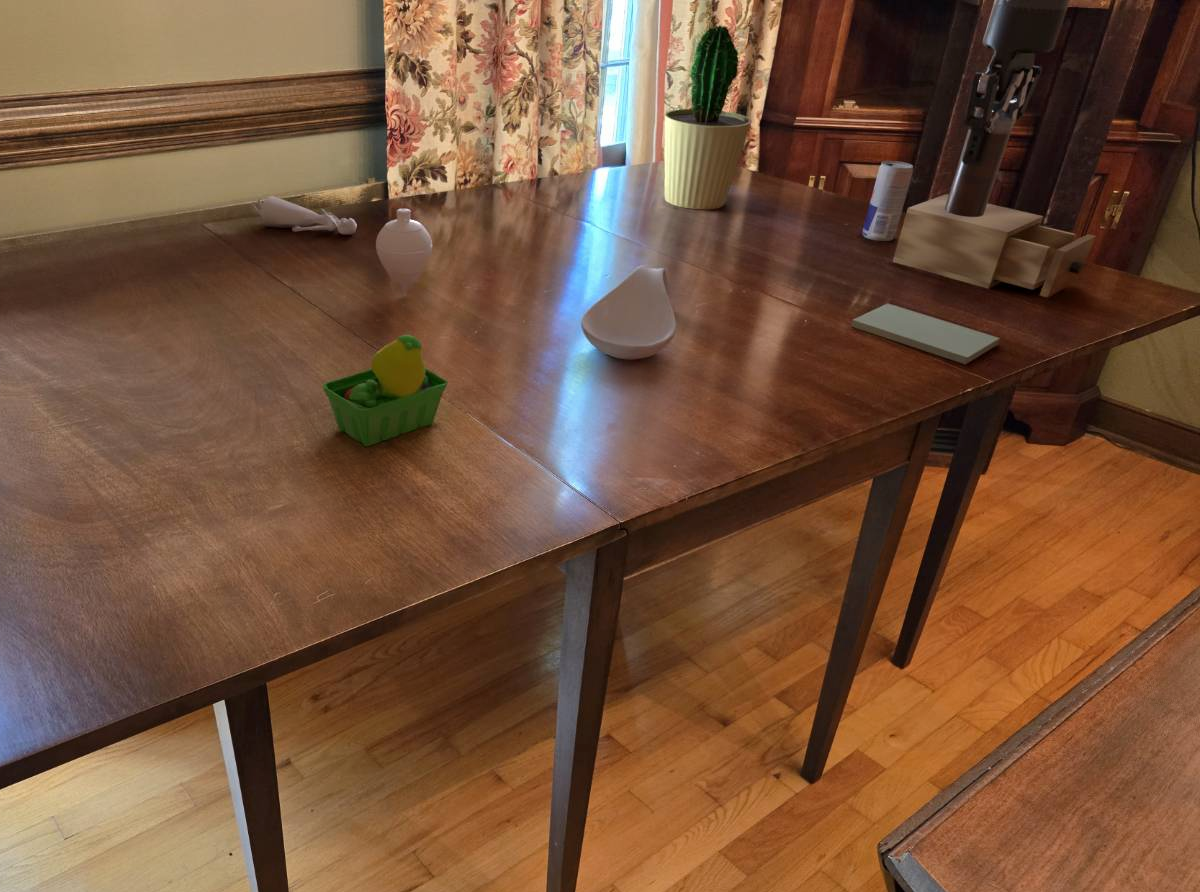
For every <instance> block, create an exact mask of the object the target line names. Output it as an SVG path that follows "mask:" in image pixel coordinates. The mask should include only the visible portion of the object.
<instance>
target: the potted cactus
mask: <svg viewBox="0 0 1200 892" xmlns="http://www.w3.org/2000/svg"><path fill="white" fill-rule="evenodd" d="M708 24H709V25H711V26H710V27H709V26H707V28H706V29H707V30H706V29H704V30H703V33H701V34H702V35H701V34H699V37H700V39H698V40H697V41H694V44H695V45H697V46H696V47H694V49H693V48H691V50H692V51H693V54H694V55H693V58H692V57H690V60H691V64H690V66H689V67H688V66H687V68H688V69H689V70H688V69H684V71H685V72H688V73H689V74H686V77H689V75H690V82H689V84H687V87H689V88H691V89H690V93H688V94H687V95H685V97H687V98H686V99H690V100H689V102H690V106H689V108H678V109H673V110H669V111H666V112H665V113H664V200H665V202H667V203H668V204H670V205H673V206H675V207H680V208H685V209H689V210H716V209H719V208H722V207H724V205H725V204H726V202H727V198H728V195H729V192H730V189H731V186H732V183H733V180H734V178H735V177H734V176H735V173H736V170H737V167H738V164H739V161H740V158H741V155H742V152H743V149H744V145H745V142H746V139H747V136H748V133H749V130H750V126H751V124H752V122H753V121H752V119H751V118H750V117H749V116H746V115H743V114H740V113H736V112H732V111H731V112H730V111H727V109H726V106H725V105H727V103H726V102H728V103H731V101H730V100H729V99H728V98H730V97H732V95H733V93H731V92H730V91H734V89H733V88H732V86H731V85H733V87H734V88H735V89H737V88H736V86H734V82H733V81H736V80H738V78H737V77H739V75H741V74H740V72H741V73H743V70H741V69H742V64H741V60H739V59H741V56H739V52H738V50H739V49H740V47H738V48H737V46H736V45H737V42H736V41H738V39H737V38H734V35H733V34H734V33H735V30H733V28H734V26H732V27H731V28H729V27H728V26H725V25H722V24H719V25H714V26H712V24H711V21H710V22H709V23H708ZM730 32H731V33H730ZM736 39H737V40H736ZM735 44H736V45H735ZM736 48H737V49H736ZM689 52H690V53H691V51H689ZM741 53H743V52H740V54H741ZM692 62H693V63H692ZM739 66H740V67H739ZM738 72H739V73H738ZM690 97H691V98H690ZM727 97H728V98H727Z"/></svg>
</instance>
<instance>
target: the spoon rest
mask: <svg viewBox="0 0 1200 892" xmlns="http://www.w3.org/2000/svg"><path fill="white" fill-rule="evenodd" d="M669 289H670V288H669V281H668V275H667V271H666V269H665V268H664V267H661V268H660V267H659V268H652V267H648V266H646V265H644V264H641V265H638V266H637V267H636V268H635V269H634V270H633V271H632V272H631V273H630V274H629V275H628V276H627V277H626V278H625V279H624V280H623V281H621V282H620V283H619V284H618V285H617V286H615V287H614V288H613V289H612V290H610V291H609V292H607V293H606V294H605V295H603V296H602V297H601V298H600V299H599V300H597V301H596V302H595V303H594V304H593V305H591V307H590V308H588V309H587V310H586V311H585V312H584V314H583V315H582V317H581V319H580V328H581V330H582V333H583V335H584V337H585V338H586V339H587V341H588V342H589V343H590V344H591V345H592V346H593V347H594V348H595V349H597V350H598V351H599V352H601V353H602V354H605V355H607V356H609V357H612V358H615V359H618V360H619V359H620V360H627V361H632V360H640V359H646V358H649V357H652V356H654V355H656V354H658V353H659V352H661V351H662V350H664V348H666V347H667V346H668V345H669V344H670V342H671V341H672V339H673V338H674V336H675V334H676V332H677V320H676V316H675V312H674V310H673V307H672V304H671V301H670V299H669V297H670V296H669V292H670V290H669Z"/></svg>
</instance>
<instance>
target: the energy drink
mask: <svg viewBox="0 0 1200 892" xmlns="http://www.w3.org/2000/svg"><path fill="white" fill-rule="evenodd" d="M913 167H914V165H913V164H911V163H908V162H904V161H899V160H898V161H897V160H885V161H882V162H881V164H880V166H879V168H878V170H877V171H878V172H877V175H876V178H875V183H874V187H873V190H872V194H871V198H870V201H869V205H868V209H867V214H866V217H865V220H864V224H863V228H862V236H863V237H864V238H866V239H868V240H872V241H876V242H877V241H878V242H891V241H893V240H894V239H895V238H896V234H897V231H898V226H899V223H900V220H901V216H902V212H903V208H904V205H905V203H906V202H905V201H906V198H907V195H908V191H909V188H910V184H911V181H912V177H913V173H914V170H913V169H914V168H913Z"/></svg>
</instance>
